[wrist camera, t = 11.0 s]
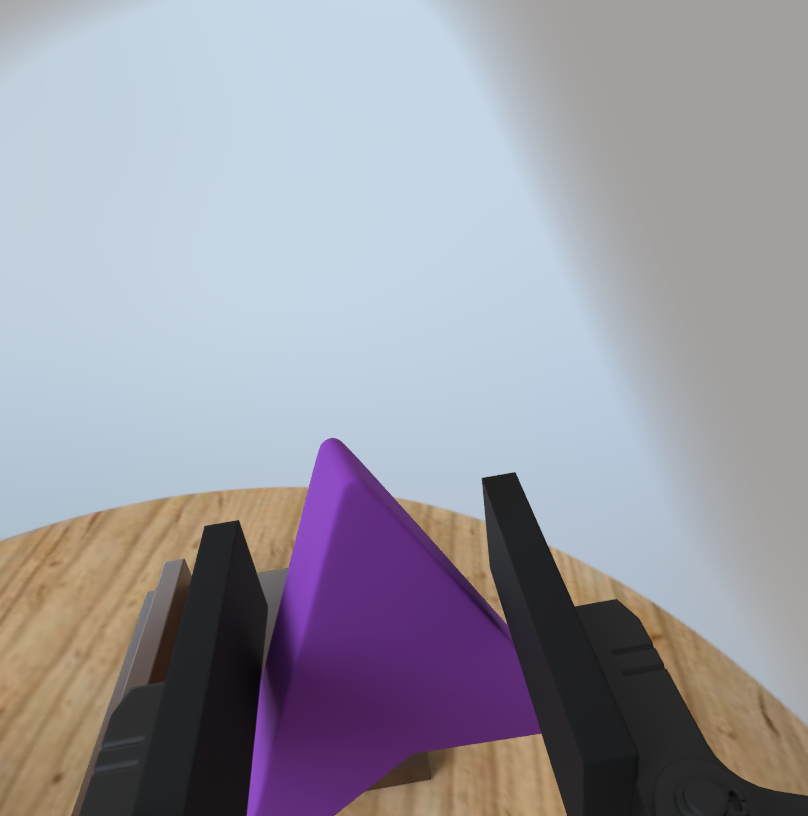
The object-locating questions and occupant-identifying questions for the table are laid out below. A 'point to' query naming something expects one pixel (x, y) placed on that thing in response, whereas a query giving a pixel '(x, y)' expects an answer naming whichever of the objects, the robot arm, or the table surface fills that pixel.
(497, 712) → the arrowhead
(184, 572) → the rack
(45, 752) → the table surface
